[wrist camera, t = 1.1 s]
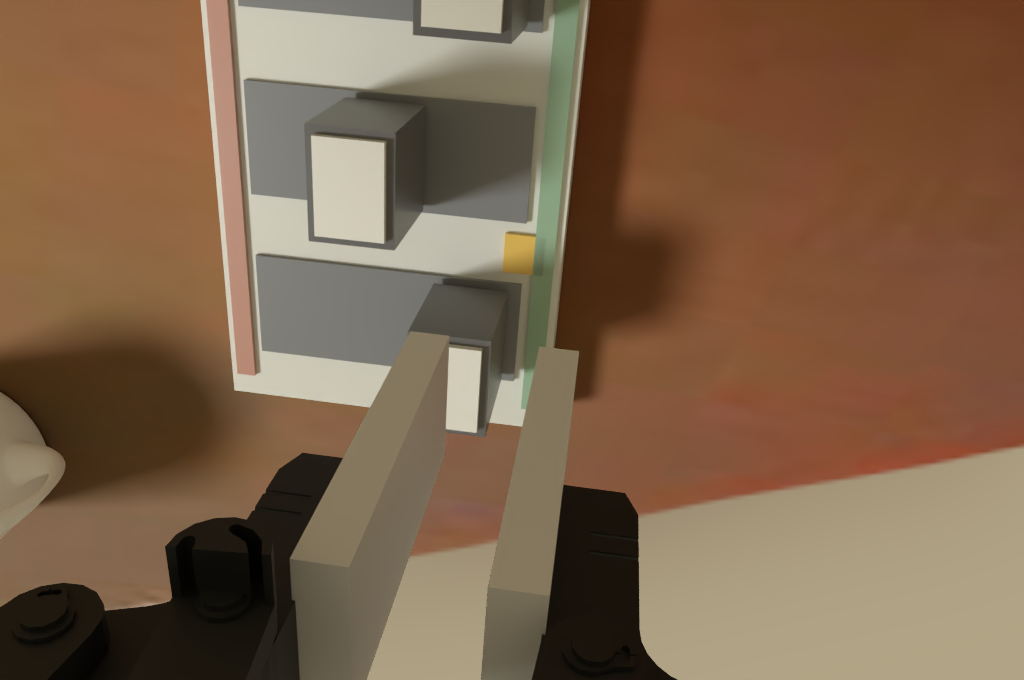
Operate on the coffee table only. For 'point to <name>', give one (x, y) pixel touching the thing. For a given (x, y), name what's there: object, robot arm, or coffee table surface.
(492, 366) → the block
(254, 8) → the panel
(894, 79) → the coffee table surface
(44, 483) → the mug
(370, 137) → the block
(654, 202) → the coffee table surface
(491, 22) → the block
